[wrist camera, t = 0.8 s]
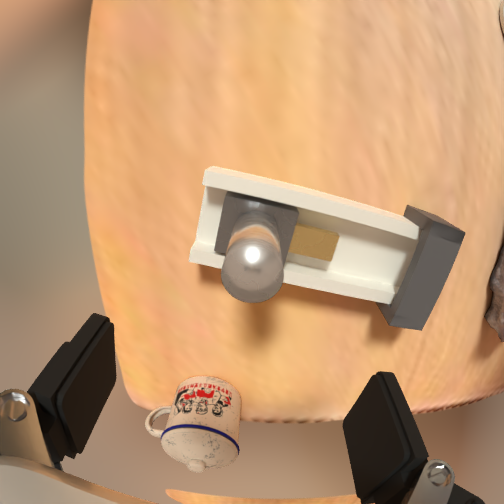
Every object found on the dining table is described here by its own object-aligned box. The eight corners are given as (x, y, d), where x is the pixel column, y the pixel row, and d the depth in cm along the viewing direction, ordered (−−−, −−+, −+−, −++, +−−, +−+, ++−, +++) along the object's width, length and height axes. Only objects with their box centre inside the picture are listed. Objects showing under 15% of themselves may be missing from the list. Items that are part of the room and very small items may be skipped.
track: (444, 218, 28) (472, 235, 23) (409, 304, 32) (428, 331, 27) (214, 152, 27) (203, 157, 22) (194, 258, 30) (181, 284, 25)
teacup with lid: (240, 372, 36) (232, 451, 25) (245, 417, 39) (241, 487, 28) (147, 370, 37) (119, 439, 26) (164, 413, 40) (145, 477, 29)
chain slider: (339, 218, 27) (377, 264, 17) (323, 266, 28) (349, 330, 19) (227, 190, 26) (208, 224, 17) (217, 242, 28) (195, 299, 19)
